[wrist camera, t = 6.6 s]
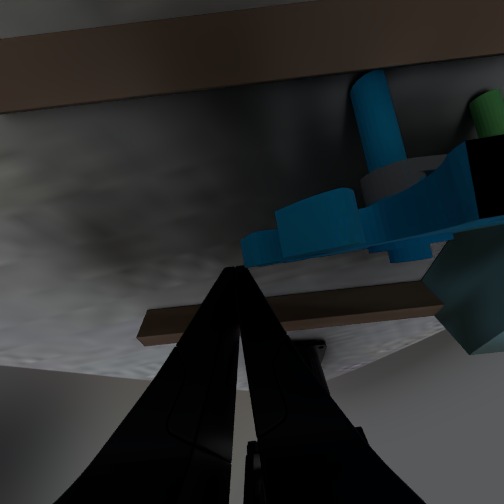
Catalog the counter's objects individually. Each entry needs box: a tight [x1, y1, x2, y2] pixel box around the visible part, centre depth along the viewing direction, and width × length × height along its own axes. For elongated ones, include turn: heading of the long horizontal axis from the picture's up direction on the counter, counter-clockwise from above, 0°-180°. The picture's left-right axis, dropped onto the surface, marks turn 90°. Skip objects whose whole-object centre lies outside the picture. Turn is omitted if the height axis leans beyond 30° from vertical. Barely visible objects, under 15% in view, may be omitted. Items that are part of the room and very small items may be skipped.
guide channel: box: [0, 0, 504, 355], centre depth 8 cm, size 14×22×4 cm, turn 95°
